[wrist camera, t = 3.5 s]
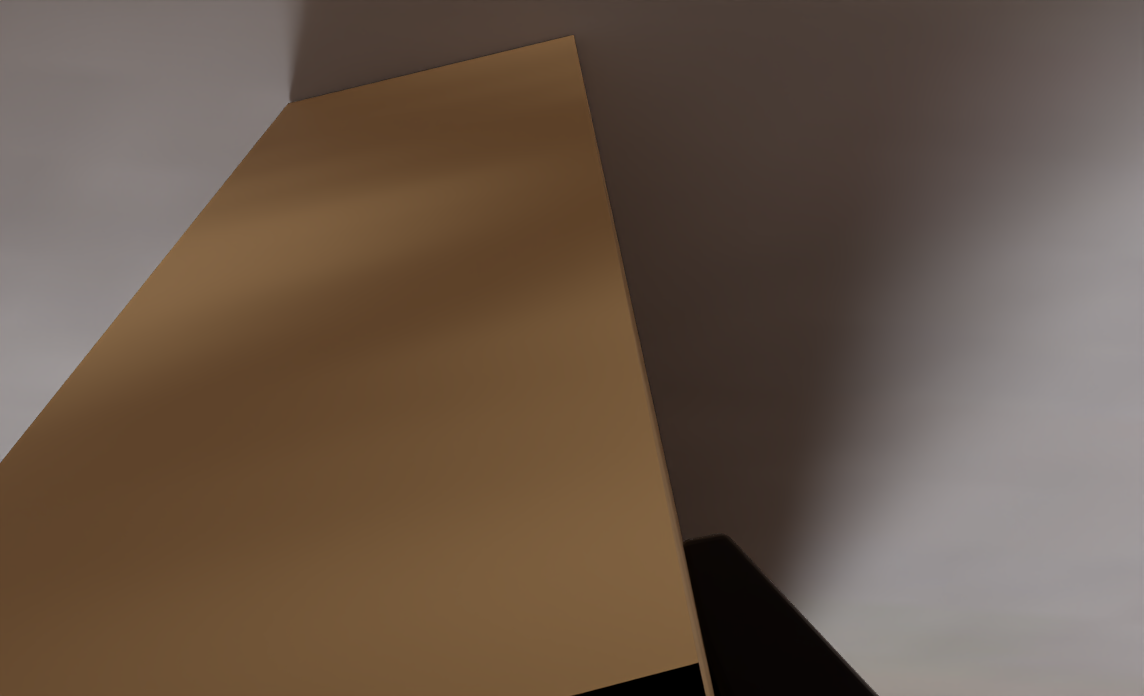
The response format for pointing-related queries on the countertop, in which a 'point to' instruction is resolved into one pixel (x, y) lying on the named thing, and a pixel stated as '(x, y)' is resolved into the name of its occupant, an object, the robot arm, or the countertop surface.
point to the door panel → (366, 427)
